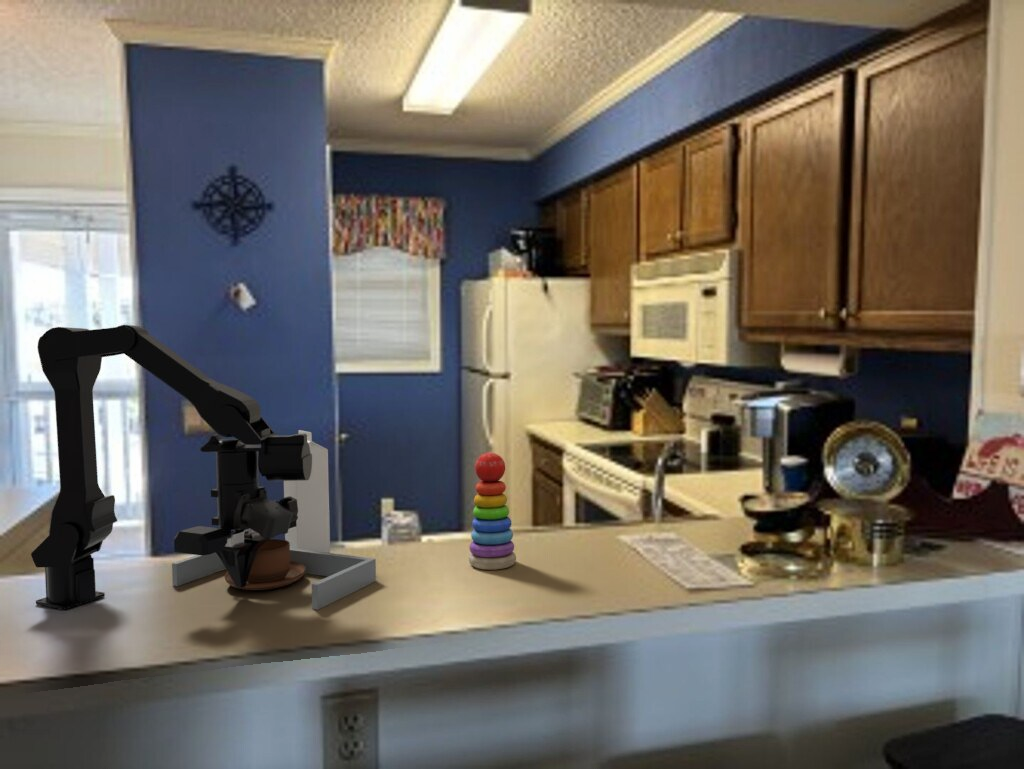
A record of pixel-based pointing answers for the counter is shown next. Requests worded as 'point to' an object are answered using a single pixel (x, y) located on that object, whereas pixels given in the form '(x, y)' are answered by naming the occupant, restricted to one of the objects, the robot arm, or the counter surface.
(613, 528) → the counter surface
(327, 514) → the milk
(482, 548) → the stacking toy
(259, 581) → the cup and saucer
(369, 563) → the u-shaped low fence
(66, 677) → the counter surface
